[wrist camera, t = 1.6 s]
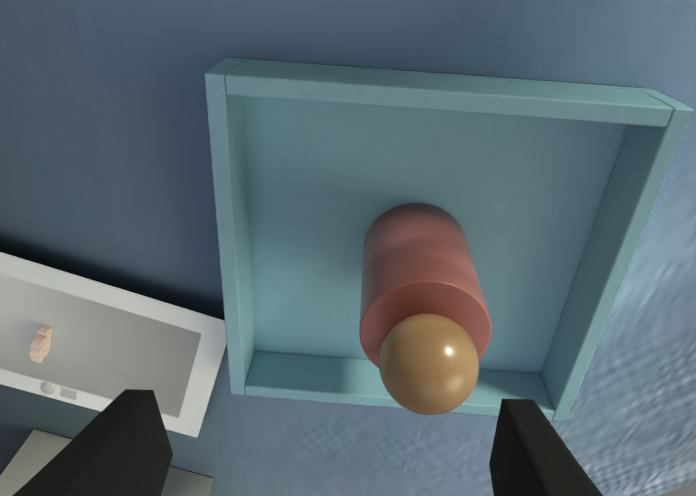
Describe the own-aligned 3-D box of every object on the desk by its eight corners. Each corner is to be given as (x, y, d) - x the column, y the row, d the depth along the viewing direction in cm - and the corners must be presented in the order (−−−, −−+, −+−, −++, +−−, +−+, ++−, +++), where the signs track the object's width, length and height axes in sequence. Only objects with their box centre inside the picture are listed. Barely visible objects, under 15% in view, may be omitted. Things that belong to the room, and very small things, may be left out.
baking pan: (654, 88, 17) (695, 109, 14) (548, 378, 23) (565, 422, 21) (225, 57, 17) (203, 73, 15) (244, 354, 23) (230, 394, 21)
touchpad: (-124, 194, 20) (-176, 219, 18) (239, 307, 22) (226, 340, 20) (-103, 334, 24) (-144, 367, 22) (204, 419, 26) (190, 456, 24)
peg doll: (474, 206, 19) (529, 349, 12) (456, 293, 21) (493, 457, 14) (367, 198, 19) (361, 335, 12) (359, 286, 21) (351, 445, 14)
